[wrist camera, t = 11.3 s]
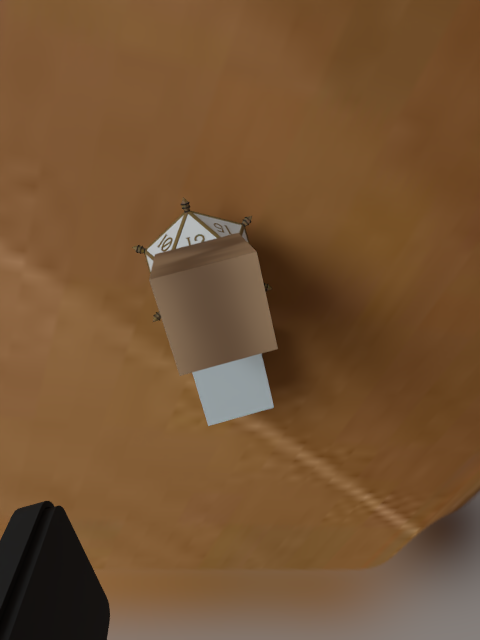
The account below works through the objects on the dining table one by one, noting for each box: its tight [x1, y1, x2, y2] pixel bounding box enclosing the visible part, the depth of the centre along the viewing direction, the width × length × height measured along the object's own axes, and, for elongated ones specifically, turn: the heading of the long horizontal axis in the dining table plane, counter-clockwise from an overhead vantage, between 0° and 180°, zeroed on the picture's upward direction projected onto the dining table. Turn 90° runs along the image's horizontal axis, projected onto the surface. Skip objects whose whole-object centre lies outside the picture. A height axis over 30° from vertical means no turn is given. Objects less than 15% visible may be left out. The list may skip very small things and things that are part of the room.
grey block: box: [192, 353, 274, 426], centre depth 34 cm, size 5×5×6 cm
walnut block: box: [149, 233, 278, 376], centre depth 23 cm, size 5×5×6 cm
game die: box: [132, 197, 272, 322], centre depth 30 cm, size 9×8×10 cm
